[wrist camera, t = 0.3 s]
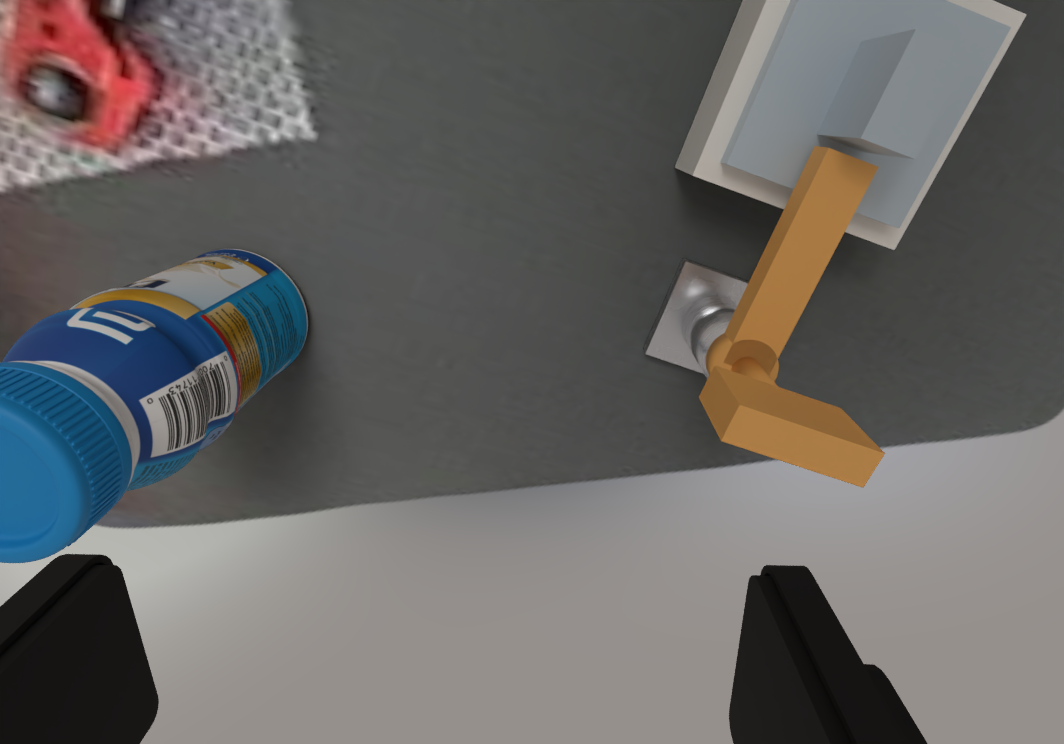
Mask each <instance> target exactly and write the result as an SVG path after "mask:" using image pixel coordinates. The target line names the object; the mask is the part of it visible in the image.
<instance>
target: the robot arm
mask: <svg viewBox="0 0 1064 744" xmlns="http://www.w3.org/2000/svg"><path fill="white" fill-rule="evenodd" d="M157 710H158V695H157V691H156V688H155V684H154V681H153V677H152V674H151V670H150V667H149V663H148V660H147V656H146V653H145V650H144V646H143V643H142V639H141V636H140V632H139V629H138V625H137V622H136V618H135V615H134V611H133V608H132V605H131V601H130V598H129V594H128V591H127V587H126V584H125V580H124V577H123V574H122V571H121V569H120V568H119V567H118V566H115V565H113V563H112V561H111V559H109V558H108V557H107V556H104V555H85V554H83V555H82V554H65V555H61V556H59V557H57V558H55V559H54V560H53V561H51V562H50V563H49V564H48V565H47V566H46V567H45V568H44V569H42V570H41V571H40V572H39V573H38V574H37V575H36V576H34V577H33V578H32V579H31V580H30V581H29V582H28V583H27V584H25V585H24V586H23V587H22V588H21V589H20V590H19V591H17V592H16V593H15V594H14V595H13V596H12V597H11V598H10V599H8V600H7V601H6V602H5V603H4V604H3V605H2V606H1V607H0V744H140V742H141V741H142V739H143V738H144V736H145V734H146V733H147V732H148V730H149V729H150V727H151V725H152V723H153V722H154V720H155V717H156V714H157ZM729 721H730V730H731V735H732V739H733V743H734V744H927V742H926V741H925V739H924V737H923V736H922V734H921V732H920V731H919V729H918V727H917V726H916V724H915V722H914V721H913V719H912V717H911V716H910V714H909V712H908V711H907V709H906V707H905V706H904V704H903V702H902V701H901V699H900V697H899V696H898V694H897V693H896V691H895V689H894V687H893V686H892V684H891V683H890V681H889V679H888V678H887V677H886V675H885V674H884V673H883V672H882V670H881V669H879V668H878V667H876V666H875V665H867V664H863V662H862V661H861V659H860V657H859V655H858V654H857V652H856V650H855V648H854V647H853V645H852V643H851V641H850V640H849V638H848V636H847V634H846V633H845V631H844V629H843V627H842V626H841V624H840V622H839V620H838V619H837V617H836V615H835V613H834V612H833V610H832V609H831V607H830V605H829V603H828V601H827V600H826V598H825V596H824V594H823V593H822V591H821V589H820V587H819V586H818V584H817V582H816V580H815V579H814V577H813V575H812V573H811V572H810V571H809V569H808V568H807V567H805V566H776V565H774V566H773V565H766V566H764V567H763V569H762V571H761V575H760V576H757V575H755V576H751V577H750V579H749V583H748V589H747V595H746V602H745V609H744V615H743V623H742V629H741V635H740V643H739V649H738V656H737V663H736V669H735V676H734V682H733V689H732V696H731V703H730V711H729Z"/></svg>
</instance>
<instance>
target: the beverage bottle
mask: <svg viewBox="0 0 1064 744" xmlns="http://www.w3.org/2000/svg"><path fill="white" fill-rule="evenodd" d="M307 331H308V315H307V310H306V306H305V303H304V300H303V297H302V295H301V293H300V291H299V289H298V288H297V286H296V285H295V283H294V282H293V280H292V279H291V278H290V277H289V276H288V275H287V274H286V273H285V272H284V271H283V270H282V269H281V268H280V267H279V266H277V265H276V264H275V263H273V262H272V261H270V260H268V259H267V258H265V257H263V256H260V255H258V254H255V253H253V252H249V251H245V250H239V249H220V250H215V251H211V252H208V253H205V254H203V255H200V256H198V257H196V258H194V259H192V260H190V261H188V262H186V263H183V264H181V265H178V266H176V267H173V268H171V269H168V270H165V271H163V272H160V273H158V274H155V275H153V276H150V277H148V278H145V279H142V280H140V281H137V282H135V283H132V284H130V285H127V286H125V287H120V288H114V289H109V290H106V291H102V292H100V293H97V294H95V295H92V296H90V297H88V298H86V299H84V300H83V301H81V302H79V303H78V304H76V305H75V306H73V307H72V308H71V309H70V310H66V311H62V312H59V313H56V314H53V315H51V316H49V317H47V318H45V319H43V320H41V321H40V322H38V323H37V324H35V325H34V326H32V327H31V328H30V329H29V330H28V331H27V332H25V333H24V334H23V335H22V336H21V337H20V338H19V339H18V341H17V342H16V343H15V344H14V345H13V346H12V348H11V349H10V350H9V352H8V353H7V355H6V356H5V358H4V360H3V362H2V363H0V562H2V563H25V562H31V561H36V560H40V559H43V558H46V557H49V556H51V555H53V554H55V553H57V552H59V551H60V550H62V549H64V548H65V547H66V546H70V545H71V544H72V543H73V542H75V541H76V540H77V539H78V538H80V537H81V536H82V535H83V534H84V533H85V532H86V531H87V530H89V529H90V528H91V527H92V526H93V525H94V524H95V523H96V522H97V521H99V520H100V519H101V518H102V517H103V516H104V515H105V514H106V513H107V512H108V511H109V510H110V509H111V508H112V507H113V506H114V505H115V504H116V503H117V502H118V501H119V500H120V499H121V497H122V496H123V495H124V493H125V491H129V490H134V489H138V488H141V487H145V486H148V485H151V484H153V483H156V482H158V481H161V480H163V479H165V478H167V477H169V476H171V475H172V474H174V473H176V472H177V471H179V470H180V469H181V468H183V467H184V466H185V465H186V464H187V463H188V462H189V461H190V460H191V459H192V458H193V457H194V456H195V454H196V453H197V452H199V451H200V450H202V449H204V448H205V447H207V446H208V445H210V444H211V443H212V442H213V441H215V440H216V439H217V438H218V437H219V436H220V435H221V434H222V433H223V432H224V431H225V430H226V429H227V428H228V427H229V425H230V424H231V422H232V421H233V419H234V417H235V415H236V413H237V412H238V411H239V410H240V409H241V408H242V407H243V406H244V405H245V404H246V403H247V402H248V401H249V400H250V399H251V398H252V397H253V396H254V395H255V394H256V393H257V392H258V391H259V390H260V389H261V388H262V387H263V386H264V385H266V384H267V383H268V382H269V381H270V380H271V379H272V378H273V377H274V376H275V375H277V374H279V373H280V372H282V371H283V370H284V369H285V368H286V367H288V366H289V365H290V364H291V363H292V362H293V361H294V360H295V359H296V357H297V356H298V355H299V353H300V351H301V350H302V348H303V346H304V343H305V340H306V337H307Z"/></svg>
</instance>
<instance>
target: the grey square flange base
mask: <svg viewBox="0 0 1064 744" xmlns="http://www.w3.org/2000/svg"><path fill="white" fill-rule="evenodd" d="M748 283H749V281H747V280H744V279H741V278H738V277H735V276H733V275H730V274H727V273H724V272H721V271H718V270H716V269H713V268H710V267H707V266H704V265H702V264H699V263H696V262H693V261H690V260H688V259H685V258H682V261H681V263H680V265H679V268H678V270H677V272H676V274H675V277H674V279H673V281H672V284H671V286H670V288H669V291H668V293H667V295H666V297H665V300H664V302H663V304H662V307H661V309H660V311H659V313H658V316H657V318H656V320H655V323H654V325H653V327H652V329H651V332H650V334H649V336H648V339H647V341H646V343H645V346H644V348H643V349H644V352H645V354H647V355H650V356H653V357H656V358H659V359H662V360H665V361H667V362H670V363H673V364H676V365H679V366H682V367H685V368H688V369H691V370H694V371H697V372H700V373H703V374H704V375H705V376H706V378H707V379H708V377H709V374H708V372H707V369H706V364H705V359H706V354H707V351H708V349H709V347H710V345H711V344H712V342H713V341H714V340H715V339H716V338H717V337H719V336H720V335H722V334H723V333H725V331H726V329H727V326H728V324H729V322H730V320H731V318H732V316H733V314H734V312H735V310H736V308H737V306H738V304H739V302H740V300H741V298H742V295H743V293H744V291H745V289H746V287H747V285H748Z"/></svg>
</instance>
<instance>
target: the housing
mask: <svg viewBox="0 0 1064 744" xmlns="http://www.w3.org/2000/svg"><path fill="white" fill-rule="evenodd" d="M947 1H949V2H951V3H954V4H956V5H959V6H961V7H963V8H966V9H968V10H971V11H973V12H976V13H978V14H980V15H983V16H985V17H988V18H990V19H992V20H995V21H997V22H1000V23H1002V24H1005V25H1007V26H1009V27H1011V29H1010V31H1009V32H1008V34H1007V36H1006V38H1005V39H1004V41H1003V43H1002V45H1001V47H1000V48H999V50H998V52H997V54H996V56H995V57H994V59H993V61H992V63H991V65H990V66H989V68H988V70H987V72H986V74H985V75H984V77H983V79H982V81H981V83H980V84H979V86H978V88H977V90H976V92H975V93H974V95H973V97H972V99H971V101H970V102H969V104H968V106H967V108H966V110H965V111H964V113H963V115H962V117H961V118H960V120H959V122H958V124H957V126H956V127H955V129H954V131H953V133H952V135H951V136H950V138H949V140H948V142H947V144H946V145H945V147H944V149H943V151H942V153H941V154H940V156H939V158H938V160H937V162H936V163H935V165H934V167H933V169H932V171H931V172H930V174H929V176H928V178H927V180H926V181H925V183H924V185H923V187H922V188H921V190H920V192H919V194H918V196H917V197H916V199H915V201H914V203H913V205H912V206H911V208H910V210H909V212H908V214H907V215H906V217H905V219H904V221H903V223H902V224H901V226H900V228H896V227H893V226H890V225H887V224H884V223H882V222H879V221H876V220H874V219H871V218H868V217H866V216H863V215H860V214H858V213H854V215H853V217H852V219H851V221H850V223H849V225H848V227H847V228H846V230H845V232H846V233H849V234H852V235H855V236H857V237H860V238H863V239H865V240H868V241H871V242H874V243H876V244H879V245H882V246H884V247H887V248H890V249H893V250H895V248H896V246H897V245H898V243H899V241H900V239H901V238H902V236H903V234H904V232H905V230H906V229H907V227H908V225H909V223H910V222H911V220H912V218H913V216H914V214H915V213H916V211H917V209H918V207H919V205H920V204H921V202H922V200H923V198H924V197H925V195H926V193H927V191H928V189H929V188H930V186H931V184H932V182H933V181H934V179H935V177H936V175H937V173H938V172H939V170H940V168H941V166H942V165H943V163H944V161H945V159H946V157H947V156H948V154H949V152H950V150H951V148H952V147H953V145H954V143H955V141H956V140H957V138H958V136H959V134H960V132H961V131H962V129H963V127H964V125H965V124H966V122H967V120H968V118H969V116H970V115H971V113H972V111H973V109H974V108H975V106H976V104H977V102H978V100H979V99H980V97H981V95H982V93H983V91H984V90H985V88H986V86H987V84H988V83H989V81H990V79H991V77H992V75H993V74H994V72H995V70H996V68H997V67H998V65H999V63H1000V61H1001V59H1002V58H1003V56H1004V54H1005V52H1006V51H1007V49H1008V47H1009V45H1010V43H1011V42H1012V40H1013V38H1014V36H1015V34H1016V33H1017V31H1018V29H1019V27H1020V26H1021V24H1022V22H1023V20H1024V18H1025V17H1026V14H1024V13H1022V12H1019V11H1017V10H1014V9H1012V8H1010V7H1007V6H1005V5H1003V4H1000V3H998V2H995V1H993V0H947ZM789 3H790V0H743V1H742V3H741V6H740V8H739V11H738V13H737V16H736V18H735V21H734V23H733V25H732V28H731V30H730V33H729V35H728V38H727V40H726V43H725V45H724V47H723V50H722V52H721V55H720V57H719V60H718V62H717V65H716V67H715V69H714V72H713V74H712V77H711V79H710V82H709V84H708V87H707V89H706V91H705V94H704V96H703V99H702V101H701V104H700V106H699V109H698V111H697V113H696V116H695V118H694V121H693V123H692V126H691V128H690V131H689V133H688V135H687V138H686V140H685V143H684V145H683V148H682V150H681V153H680V155H679V157H678V160H677V162H676V165H675V168H677V169H679V170H681V171H683V172H686V173H688V174H690V175H692V176H695V177H697V178H700V179H703V180H706V181H708V182H711V183H714V184H716V185H719V186H722V187H725V188H727V189H730V190H733V191H735V192H738V193H741V194H744V195H746V196H749V197H752V198H754V199H757V200H760V201H762V202H765V203H768V204H771V205H773V206H776V207H779V208H781V209H785V206H786V204H787V202H788V200H789V198H790V196H791V194H792V192H793V189H791V188H788V187H785V186H782V185H780V184H777V183H774V182H772V181H769V180H766V179H764V178H761V177H758V176H756V175H753V174H750V173H748V172H745V171H742V170H740V169H737V168H734V167H732V166H729V165H726V164H723V163H721V159H722V157H723V155H724V152H725V150H726V148H727V146H728V143H729V141H730V139H731V136H732V134H733V132H734V129H735V127H736V125H737V122H738V120H739V118H740V116H741V113H742V111H743V109H744V106H745V104H746V102H747V99H748V97H749V95H750V93H751V90H752V88H753V86H754V83H755V81H756V79H757V76H758V74H759V72H760V69H761V67H762V65H763V63H764V60H765V58H766V56H767V53H768V51H769V49H770V46H771V44H772V42H773V40H774V37H775V35H776V33H777V30H778V28H779V26H780V23H781V21H782V19H783V16H784V14H785V12H786V10H787V7H788V5H789Z"/></svg>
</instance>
